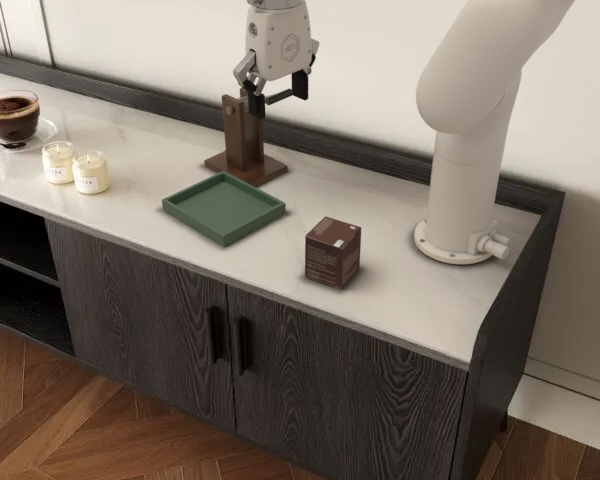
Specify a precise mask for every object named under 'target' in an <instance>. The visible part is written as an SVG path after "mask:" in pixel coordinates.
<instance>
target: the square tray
mask: <svg viewBox="0 0 600 480" xmlns="http://www.w3.org/2000/svg"><path fill="white" fill-rule="evenodd" d="M161 203H162V211H164V212H166V213H167V214H169V215H171V216H172V217H174V218H175V219H177V220H178V221H180V222H181V223H183V224H186V225H187V226H189V227H190V228H192V229H194V231H197V232H199V233H200V234H202V235H204V236H205V237H206V238H208V239H210V240H212V241H213V242H215V243H217V244H218V245H219V246H221V247H223V248H225V247H227V246H229V245H231V244H233V243H235V242H236V241H238V240H240V239H242V238H243V237H245V236H247V235H249V234H251V233H253V232H254V231H256V230H258V229H260V228H262V227H264V226H265V225H267V224H269V223H271V222H273V221H274V220H277V219H278V218H280V217H282V216H284V215H286V214H287V211H286V202H285V201H282V200H281V199H279V198H277V197H275V196H274V195H271V194H270V193H268V192H266V191H263V190H261V189H260V188H258V187H254V186H252V185H250V184H248V183H246V182H244V181H242V180H240V179H239V178H237V177H235V176H233V175H231V174H229V173H227V172H225V171H222V172H220V173H216V174H214V175H211V176H209V177H207V178H204V179H203V180H201V181H199V182H196V183H194V184H191V185H189V186H187V187H186V188H184V189H182V190H181V189H180V191H177V192H175V193H173V194H171V195H169V196H167V197H164V198H163V199H161Z"/></svg>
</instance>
